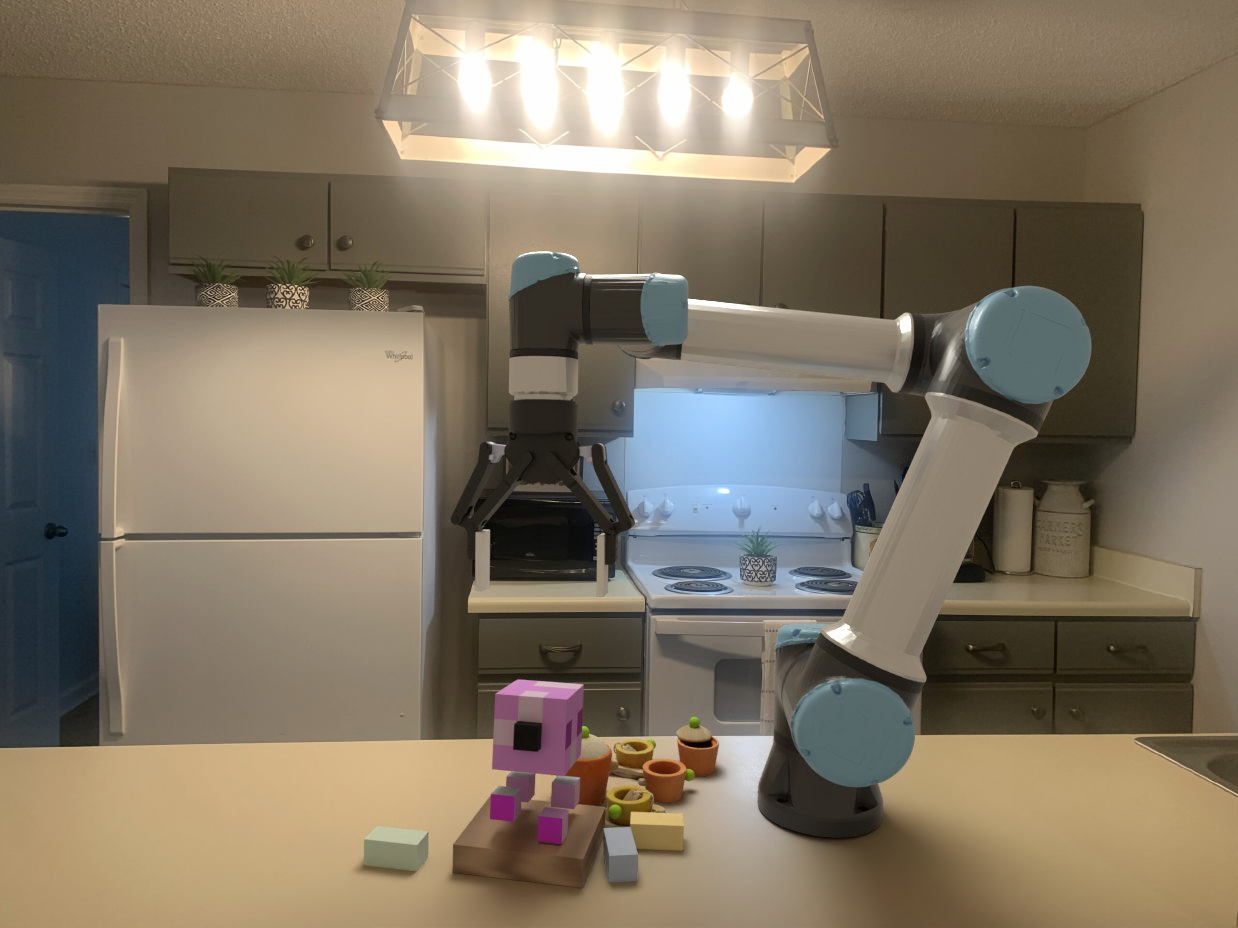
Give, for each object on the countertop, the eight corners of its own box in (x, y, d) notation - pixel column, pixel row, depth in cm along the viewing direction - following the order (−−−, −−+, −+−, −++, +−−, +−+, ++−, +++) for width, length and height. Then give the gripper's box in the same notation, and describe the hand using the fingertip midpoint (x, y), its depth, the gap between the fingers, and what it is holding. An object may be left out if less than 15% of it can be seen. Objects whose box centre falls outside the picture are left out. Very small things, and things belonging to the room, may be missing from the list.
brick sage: (428, 858, 89) (428, 831, 89) (416, 872, 86) (417, 844, 86) (376, 852, 90) (377, 825, 90) (363, 866, 87) (364, 838, 87)
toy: (558, 849, 85) (564, 702, 86) (484, 840, 86) (491, 696, 87) (581, 812, 95) (586, 682, 96) (515, 805, 97) (520, 677, 98)
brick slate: (603, 854, 91) (603, 827, 91) (630, 853, 91) (630, 826, 91) (608, 883, 85) (609, 855, 85) (637, 882, 85) (638, 854, 85)
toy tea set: (635, 847, 93) (636, 763, 93) (530, 810, 102) (531, 733, 101) (736, 771, 115) (737, 702, 114) (642, 746, 123) (643, 682, 123)
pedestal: (605, 832, 96) (605, 806, 96) (582, 887, 84) (583, 858, 84) (490, 819, 98) (490, 795, 98) (452, 872, 86) (452, 844, 86)
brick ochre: (682, 839, 95) (682, 813, 95) (683, 852, 92) (683, 825, 92) (630, 836, 95) (630, 811, 95) (629, 849, 92) (630, 823, 92)
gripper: (660, 401, 91) (658, 590, 92) (447, 399, 95) (446, 581, 96) (652, 397, 84) (649, 603, 85) (421, 396, 88) (420, 593, 89)
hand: (541, 592), depth 90 cm, fingers open, 13 cm apart
